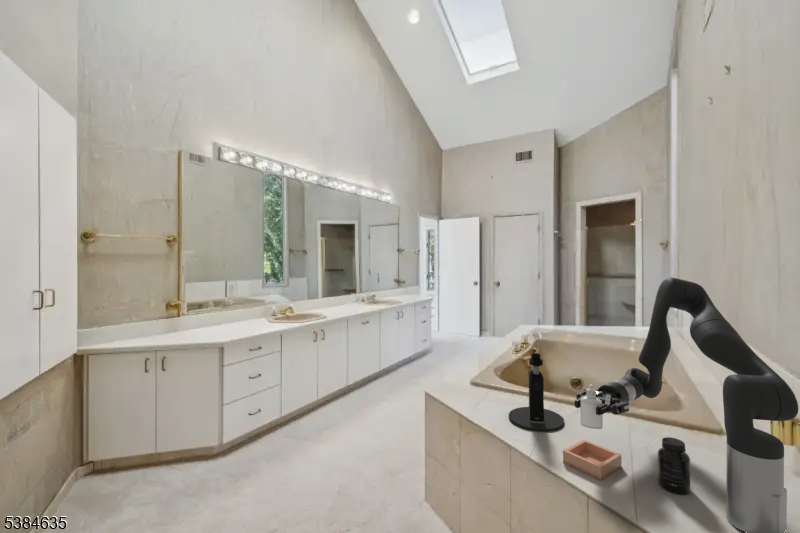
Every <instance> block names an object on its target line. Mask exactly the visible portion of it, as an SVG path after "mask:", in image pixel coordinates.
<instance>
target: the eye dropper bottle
mask: <svg viewBox="0 0 800 533" xmlns="http://www.w3.org/2000/svg"><path fill="white" fill-rule="evenodd" d="M596 392H597V389H595V388H594V386H593V384H589V386H588V388H586V397H582V398H581V401H580V408H579V410H580V425H581V426H582V427H584V428H588V429H593V430H601V429H603V424H604V423H603V421H604V420H603V414H601V415H596V407H597V406H599V405H602V401H601V400H600V399H598V398H596Z"/></svg>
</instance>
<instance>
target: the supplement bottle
mask: <svg viewBox="0 0 800 533" xmlns="http://www.w3.org/2000/svg"><path fill="white" fill-rule="evenodd" d="M686 450H687V449H686V443H685V442H684V441H683V440H681V439H678V438H675V437H671V436H669V437H667V436H666V437H663V438H662V439H661V447H660V448H659V449H658V451H657V478H658V479H657V480H658V484H659V486H660V487H661V488H662V489H664V490H666V491H667V492H670V493H671V494H676V495H687V494H689V493H690V492H691V489H692V488H691V486H692V485H691V483H692V482H691V481H692V480H691V458H690V456H689V455H688V453H687V452H686Z"/></svg>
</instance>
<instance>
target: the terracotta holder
mask: <svg viewBox="0 0 800 533" xmlns="http://www.w3.org/2000/svg"><path fill="white" fill-rule="evenodd" d="M563 462H564V464H566V465H568V466H570V467H572V468H574V469H576V470H578V471H580V472H582V473H585V474H586V475H589V476H591V477H593V478H594V479H598V480H600V481H602V480H604V479H605V478H607V477H608V476H609V475H611V474H613V473H614V472H616V471H617V470H619V469H620V468H621V467H622V454H621V453H619V452H616V451H614V450H611V449H609V448H606V447H605V446H604V447H603V446H601V445H599V444H596V443H593V442H592V441H589V440H586V439H582V440H581V441H579V442H576V443H574V444H573V445H571V446H569V447H567V448H565V449H563V450H562V463H563Z"/></svg>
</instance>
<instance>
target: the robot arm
mask: <svg viewBox="0 0 800 533" xmlns="http://www.w3.org/2000/svg"><path fill="white" fill-rule="evenodd" d="M670 309H676V310H680V311H684V312H686V313H688V314H690V316H692V319H693V320H692V321H691V323H690V327H689V334H690V337H691V339H692V341H693V342H694V343H695V345H696V346H697V348H698V349H699V351H700V352H701V353H702V354H703V355H704V356H705V357H707V358H709V359H710V360H711V361H713V362H714V363H716V364H718V365H720V366H722V367H724V368H726V369H727V370H729V371H732V372H733V373H734V374H728V375H727V376H726V377H725V379H724V381H723V385H722V402H723V418H724V430H725V434H726V435H725V436H726V498H725V499H726V507H725V510H726V511H725V512H726V519H727V521H728V522H729V523H730V524H731V525H732V526H733V525H734V526H735V527H734V526H733V527H734V528H736V529H737V528H738V529H737V530H739V529H740V530H739V531H741V530H742V531H744V532H747V533H784V532H785V530H786V529H788V527H787V525H788V524H787V520H788V518H787V517H788V509H787V508H788V507H787V506H788V490H787V488H786V487H785V445H784V443H783V442H782V440H781V439H780V438H778V437H776V436H774V435H773V434H770V433H769V432H766V431H763V430H762V429H759V428H755V427H754V420H759V421H760V420H761V421H771V422H783V421H784V422H785V421H786V422H787V421H788V422H789V421H791V420H794V419H795V418H796V417H797V416H798V415H799V403H798V399H797V397H796V395H795V393H794V391H793V390H792V388H791V387H790V386H789V384H788V383H787V382H786V381H785V380H784V378H783V377H781V375H779V374H778V373H777V372H776V371H775V370H774V369H772V367H770V366H769V365H768V364H767V363H766V362H764V361H765V360H764V361H763V360H762V358H761V357H759V355H758V354H756V352H754V350H753V349H752V348H751V347H750V346H749V345H748V343H747V342H746V341H745V340H744V339H743V338H742V336H741V335H740V334H739V333H738V331H737V330H736V329H735V328H734V327H733V325H732V324H731V323H730V322H729V321H728V320H727V319H726V318H725V317H724V316H723V315H722V313H721V312H720V311H719V310H718V308H717V307H716V306H715V304H714V303H713V301H712V299H711V298H710V296H709V295H708V293H707V291H706V290H705V288H704V287H703V286H702V285H700V284H698V283H696V282H693V281H689V280H685V279H680V278H676V277H666V278H665V279H663V280H662V281H661V283H660V284H659V287H658V289H657V292H656V296H655V299H654V304H653V309H652V314H651V319H650V324H649V329H648V332H647V336H646V338H645V342H644V344H643V346H642V349H641V351H640V354H639V356H638V363H640V364H641V365H642V366H644V367H645V368H646V369H647V371H648V372H649V373H647V372H645V371H644V370H642V369H640V368H637V367H631V368H629V369H628V370H627V371H626V372H625V374H624V375H623V376H622V377H621V378H619V379H616V380H612V381H610V382H608V383H605V384H602V385H600V386H599V388H597V389H596V398H598V399H600V400H601V401H602V405H599V406H597V407H596V415H601V414H602V415H604V414H610V413H612V414H613V415H620V414H623V413H627V412H629V411H630V404H631V403H632V402H633V401H636V400H637V399H639V398H641V397H642V396H644V397H646V398H649V399H654V398H656V397H658V396H659V395H660V393H661V390H662V384H663V372H664V366H665V363H666V361H667V358H668V356H669V355H670V352H671V348H672V340H671V335H670V333H669V328H668V321H667V320H668V317H667V316H668V313H669V311H670ZM586 389H587V388H586ZM586 389H585V388H582V389H581V390H580V391H578V392H577V393H576V399H574V407H575V408H576V409H580V401H581V398H582V397H586ZM742 531H741V532H742ZM744 532H743V533H744Z"/></svg>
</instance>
